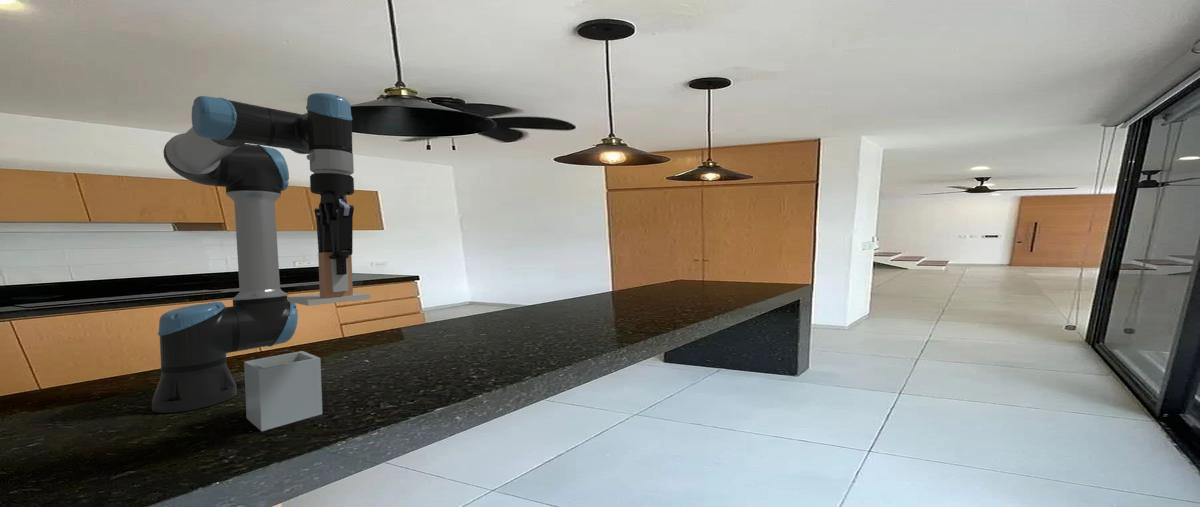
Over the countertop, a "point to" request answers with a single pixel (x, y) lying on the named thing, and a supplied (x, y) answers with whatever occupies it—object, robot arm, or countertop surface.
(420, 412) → the countertop surface
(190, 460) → the countertop surface
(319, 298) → the lid
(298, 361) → the tub
